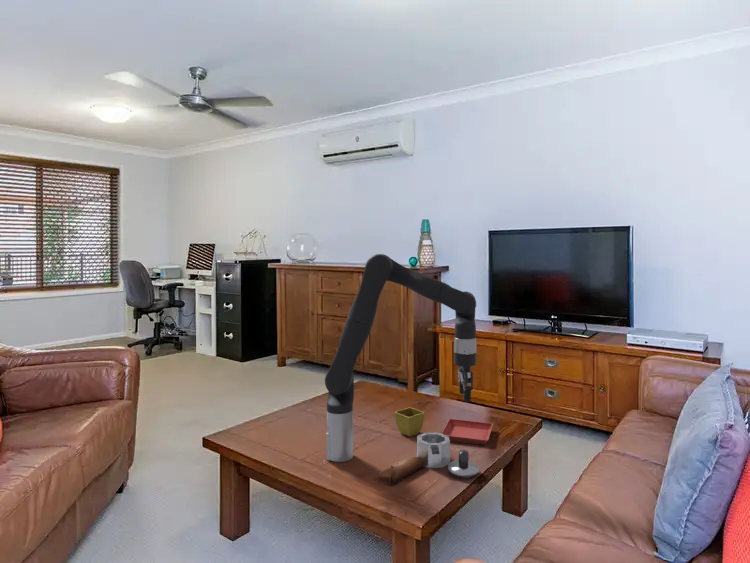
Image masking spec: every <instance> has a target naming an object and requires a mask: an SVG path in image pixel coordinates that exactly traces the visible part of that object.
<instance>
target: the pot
mask: <svg viewBox="0 0 750 563" xmlns="http://www.w3.org/2000/svg"><path fill="white" fill-rule="evenodd" d="M441 433H442V432H441ZM441 433H440V432H434V431H428V432H424V433H421V434H419V435H418V434H417V436H416V457H422V458H423V459H424V462H425V465H424V467H426V468H429V469H430V468H433V469H434V468H436V469H437V468H442V469H443V468H444V467H446V466H448V465H449V463H450V462H451V441H450V440H449V437H448V436H446V435H444V434H441Z"/></svg>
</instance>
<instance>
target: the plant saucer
mask: <svg viewBox="0 0 750 563" xmlns="http://www.w3.org/2000/svg"><path fill="white" fill-rule="evenodd" d="M493 426H494V424H493V423H492V422H490V423H489V422H483V421H472V420H463V419H455V418H449V419H448V421H447V422H446V424H445V426H444V428H443V429H442V432H441V434H444V435H446V436H448V437H449V440H450V442H455V443H457V442H458V443H463V444H464V443H465V444H471V443H472V444H473V445H479V444H481V445H480V446H484V445H486V444H487V442H489V439H490V435H491V433H492V429H493Z"/></svg>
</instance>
